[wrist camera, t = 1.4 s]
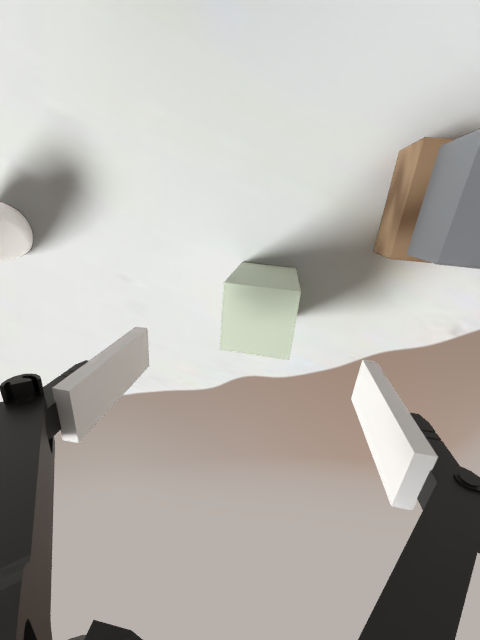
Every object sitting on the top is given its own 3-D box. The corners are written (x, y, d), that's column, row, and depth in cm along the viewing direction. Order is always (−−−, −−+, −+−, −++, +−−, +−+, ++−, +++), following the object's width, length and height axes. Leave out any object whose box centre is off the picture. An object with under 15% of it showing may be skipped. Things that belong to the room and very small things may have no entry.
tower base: (398, 152, 25) (424, 137, 20) (480, 156, 24) (528, 142, 19) (372, 251, 28) (389, 258, 23) (444, 258, 27) (476, 267, 23)
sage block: (242, 262, 30) (223, 282, 21) (295, 268, 30) (301, 291, 20) (238, 311, 32) (219, 349, 23) (287, 318, 32) (289, 360, 23)
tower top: (440, 146, 20) (486, 125, 15) (513, 150, 19) (584, 130, 15) (406, 254, 23) (436, 264, 18) (469, 260, 22) (516, 272, 18)
